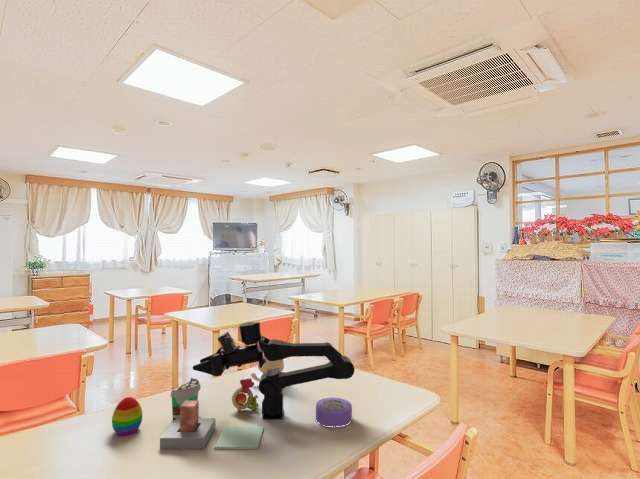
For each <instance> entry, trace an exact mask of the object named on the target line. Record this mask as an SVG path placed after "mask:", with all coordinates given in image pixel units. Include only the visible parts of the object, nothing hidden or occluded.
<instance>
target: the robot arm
mask: <svg viewBox="0 0 640 479" xmlns="http://www.w3.org/2000/svg"><path fill="white" fill-rule="evenodd" d="M238 327H239V333H240V340H241V343H243V345H245V346H241V345H236V343H235V340H233V337H232V336H231V334H230V332H229V331H227V332H224V333H222V334H221V335H219V336H218V337H217V340H218V343H220V345H221V346H220V347H219V348H218V349H217V351H216V352H214V353H212V354H211V355H208V356H206V357H203V358H201V359H199V362H200V363H198V364H195V365H193V366H192V371H197V372H199V373H204V374H208V375H210V376H211V375H212V377H214V378H216V377H221V376H222V375H223V374H224V372H225V370H229V369H230V368H233V367H238V368H239V367H240V368H241V367H242V366H245V365H249V364H254V363H258V362H259V367H260V368H262V366H263V364H264V363H265V362H266V359H267V360H269V361H277V360H282V359H283V360H285V359H288V358H292V357H295V358H297V357H325V358H326V359H328V362H327V363H325V364H321V365H315V366H310V367H305V368H300V369H297V370H291V371H286V372H285V371H282V372H279V368H276V369H273V370H269V369H268V370H267V372H265V373H262V374H261V375H260V382H258V391H259V392H260V393H261V394H262V395H263V399H262V401H261V415H262V419H263V420H264V419H265V420H278V419H280V420H281V419H283V417H284V412H285V410H284V394H283V390H284V389H285V388H288V387H290V386H291V387H292V386H295V385H301V384H304V383H309V382H315V381H319V380H320V381H321V380H324V379H334V380H349V379H350V378H352V377H353V375H354V373H355V366H354V364H353V362H352V360H351V359H350V357H348V356H346V355H342V353H341V352H339V351H338V349H336V348H335V347H334V346H333V345H332V343H331V342H327V341H326V342H302V343H301V342H298V343H297V342H294V343H292V342H287V341H284V340H281V339H273V338H272V339H270V338H267V337H265V336H263V335H262V332H261V322H259V321H257V322H256V321H252V322H251V321H248V322H247V321H246V322H243V323H241V324H239V325H238ZM259 348H260V349H259ZM262 351H263V352H264V356H265V358H266V359H265V358H264V357H263V352H262Z"/></svg>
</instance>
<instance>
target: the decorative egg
mask: <svg viewBox="0 0 640 479" xmlns="http://www.w3.org/2000/svg"><path fill="white" fill-rule="evenodd" d="M111 418H112V419H111V426H112V429H113V431H114V432H115V433H116V435H119V436H128V435H131V434H133V433H135V432H137V430H138V429H139V428H140V426H141V424H142V421H143V409H142V407H141V404H140V402H139V401H138V400H137V399H136V398H134V397H132V396H127V397H124V398H123V399H122V400H121V401H119V403H118V404H117V405H116V407H115V408H114V410H113V414H112V416H111Z"/></svg>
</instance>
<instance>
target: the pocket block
mask: <svg viewBox="0 0 640 479" xmlns="http://www.w3.org/2000/svg"><path fill="white" fill-rule="evenodd" d="M172 421H173V422H171V423H170V425H169V426H168V427H167V429H166V430H165V431H164V433H162V435H161V436H160V437H159V450H204V449H205V447H206V445H207V443H208V442H209V439H210V438H211V436H212V435H213V433H214V431H215V429H216V417H198V429H197V431H196V432H180V418H176V419H175V420H172Z"/></svg>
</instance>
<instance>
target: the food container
mask: <svg viewBox="0 0 640 479" xmlns="http://www.w3.org/2000/svg"><path fill="white" fill-rule="evenodd" d="M201 387H202V386H201V383H200V381H199V379H197V378H193V377H190V380H189V381H188V382H186V383H185V384H182V385H181V386H179V387H178V388H177V389H171V392H170V398H171V408H172V414H171V415H172V421H174V420H175V419H176V418H180V406H181V405H182V404H183V403H184V401H199V399H198V398H199V392H200V391H201Z"/></svg>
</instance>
